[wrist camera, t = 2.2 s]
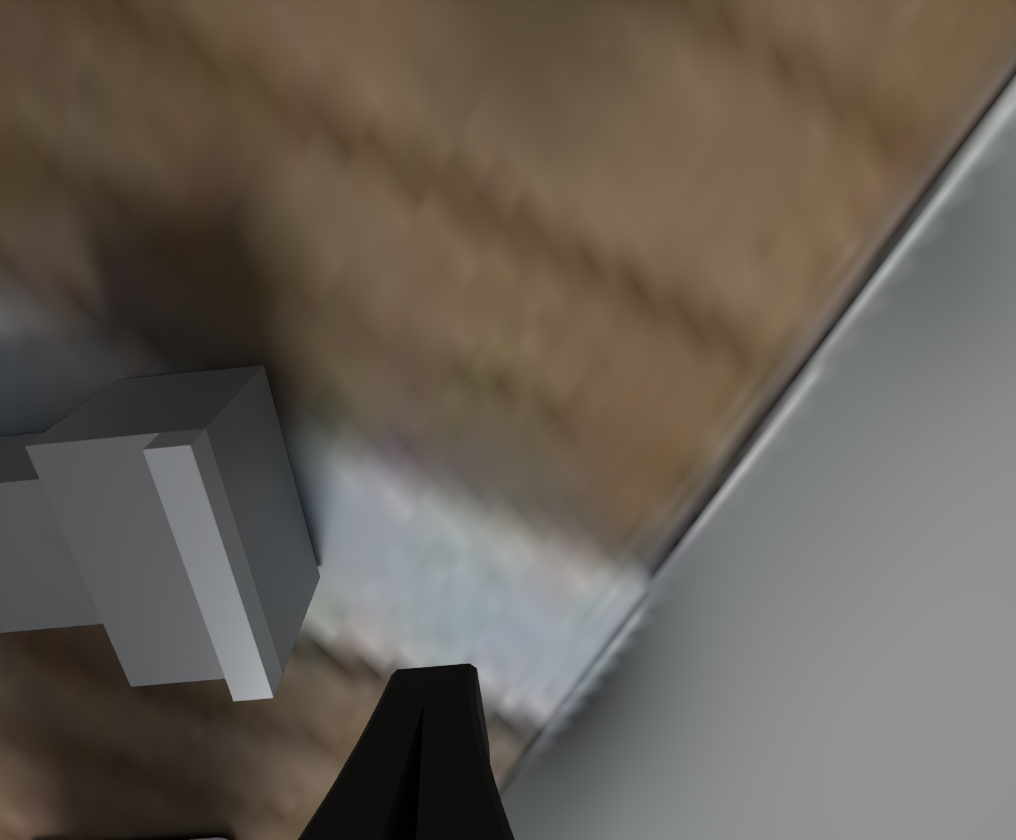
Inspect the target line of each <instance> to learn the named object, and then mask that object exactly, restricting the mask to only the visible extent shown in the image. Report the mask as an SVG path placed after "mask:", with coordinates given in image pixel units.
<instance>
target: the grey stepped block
mask: <svg viewBox="0 0 1016 840" xmlns="http://www.w3.org/2000/svg"><path fill="white" fill-rule="evenodd" d="M319 578H320V575H319V571H318V568H317V564H316V560H315V556H314V552H313V549H312V545H311V541H310V537H309V534H308V530H307V526H306V522H305V518H304V515H303V511H302V507H301V503H300V500H299V496H298V492H297V488H296V484H295V481H294V477H293V473H292V469H291V466H290V462H289V458H288V454H287V450H286V447H285V443H284V439H283V435H282V432H281V428H280V424H279V420H278V416H277V413H276V409H275V405H274V401H273V398H272V394H271V390H270V386H269V382H268V379H267V375H266V371H265V367H264V365H258V366H249V367H239V368H229V369H219V370H209V371H199V372H189V373H180V374H170V375H160V376H150V377H140V378H130V379H120V380H117V381H116V382H114V383H113V384H112V385H110V386H109V387H107V388H106V389H105V390H103V391H102V392H100V393H99V394H97V395H96V396H95V397H93V398H92V399H90V400H89V401H88V402H86V403H85V404H83V405H82V406H81V407H79V408H78V409H76V410H75V411H74V412H72V413H71V414H69V415H68V416H67V417H65V418H64V419H62V420H61V421H60V422H58V423H57V424H55V425H54V426H53V427H51V428H50V429H48V430H47V431H46V432H41V433H31V434H21V435H10V436H0V633H5V632H16V631H27V630H39V629H50V628H61V627H72V626H83V625H95V624H103V625H104V627H105V629H106V631H107V634H108V636H109V638H110V641H111V643H112V645H113V647H114V650H115V652H116V654H117V656H118V659H119V661H120V663H121V666H122V668H123V670H124V672H125V675H126V677H127V679H128V681H129V684H130V686H131V687H133V686H145V685H157V684H168V683H180V682H191V681H203V680H215V679H226V682H227V684H228V687H229V690H230V693H231V695H232V698H233V701H243V700H255V699H267V698H274V695H275V693H276V690H277V687H278V685H279V682H280V680H281V677H282V674H283V672H284V669H285V667H286V664H287V661H288V659H289V656H290V654H291V651H292V648H293V646H294V643H295V641H296V638H297V635H298V633H299V630H300V628H301V625H302V622H303V620H304V617H305V615H306V612H307V609H308V607H309V604H310V602H311V599H312V596H313V594H314V591H315V589H316V586H317V583H318V581H319Z"/></svg>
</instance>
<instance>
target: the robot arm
mask: <svg viewBox="0 0 1016 840" xmlns="http://www.w3.org/2000/svg"><path fill="white" fill-rule="evenodd" d="M191 840H227V839H225V838H218V837H217V838H204V839H191ZM298 840H515V839H514V837H513V834H512V831H511V829H510V826H509V823H508V820H507V817H506V814H505V811H504V808H503V805H502V802H501V799H500V796H499V793H498V790H497V787H496V784H495V780H494V776H493V773H492V769H491V766H490V753H489V742H488V735H487V729H486V723H485V717H484V711H483V704H482V698H481V692H480V686H479V679H478V673H477V668H475V667H474V666H472V665H471V664H458V665H446V666H434V667H422V668H411V669H399V670H396V671H395V672H394V673H393V674H392V675H391V677H390V680H389V682H388V684H387V686H386V688H385V690H384V692H383V694H382V696H381V698H380V700H379V703H378V705H377V706H376V708H375V710H374V712H373V714H372V716H371V718H370V720H369V722H368V724H367V726H366V728H365V729H364V731H363V733H362V735H361V737H360V739H359V741H358V742H357V744H356V746H355V748H354V749H353V751H352V753H351V755H350V756H349V758H348V760H347V761H346V763H345V765H344V767H343V768H342V770H341V772H340V774H339V775H338V777H337V779H336V780H335V782H334V784H333V786H332V787H331V789H330V790H329V792H328V794H327V795H326V797H325V798H324V800H323V802H322V803H321V805H320V806H319V808H318V809H317V811H316V812H315V814H314V815H313V817H312V819H311V820H310V822H309V823H308V825H307V826H306V828H305V829H304V831H303V832H302V834H301V836H300V837H299V839H298Z"/></svg>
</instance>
